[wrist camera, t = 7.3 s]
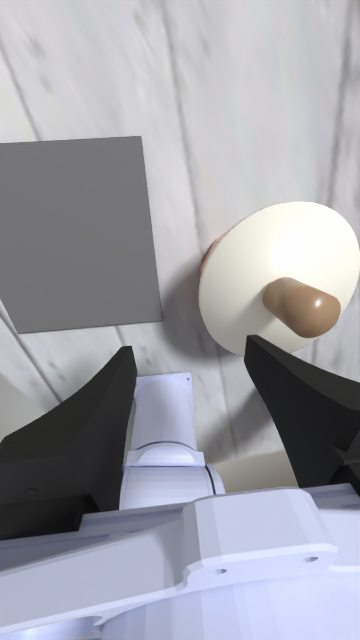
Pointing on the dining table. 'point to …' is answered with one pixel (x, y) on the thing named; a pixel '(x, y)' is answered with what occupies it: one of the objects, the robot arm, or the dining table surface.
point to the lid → (279, 277)
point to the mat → (76, 234)
